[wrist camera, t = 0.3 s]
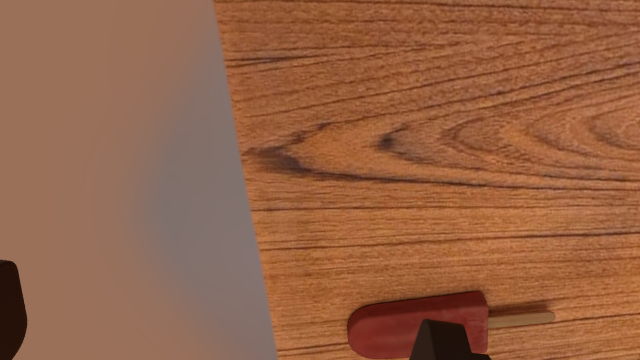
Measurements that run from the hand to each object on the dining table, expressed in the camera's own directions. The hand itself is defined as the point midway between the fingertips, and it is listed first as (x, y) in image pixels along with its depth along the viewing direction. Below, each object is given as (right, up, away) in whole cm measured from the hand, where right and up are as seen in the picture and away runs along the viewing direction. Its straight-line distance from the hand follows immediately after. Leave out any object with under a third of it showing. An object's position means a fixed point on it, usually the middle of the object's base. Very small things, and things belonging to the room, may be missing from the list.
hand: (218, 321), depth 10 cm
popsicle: (+12, -7, +28) cm, 31 cm away
